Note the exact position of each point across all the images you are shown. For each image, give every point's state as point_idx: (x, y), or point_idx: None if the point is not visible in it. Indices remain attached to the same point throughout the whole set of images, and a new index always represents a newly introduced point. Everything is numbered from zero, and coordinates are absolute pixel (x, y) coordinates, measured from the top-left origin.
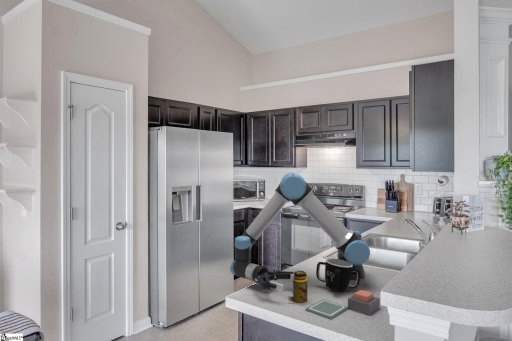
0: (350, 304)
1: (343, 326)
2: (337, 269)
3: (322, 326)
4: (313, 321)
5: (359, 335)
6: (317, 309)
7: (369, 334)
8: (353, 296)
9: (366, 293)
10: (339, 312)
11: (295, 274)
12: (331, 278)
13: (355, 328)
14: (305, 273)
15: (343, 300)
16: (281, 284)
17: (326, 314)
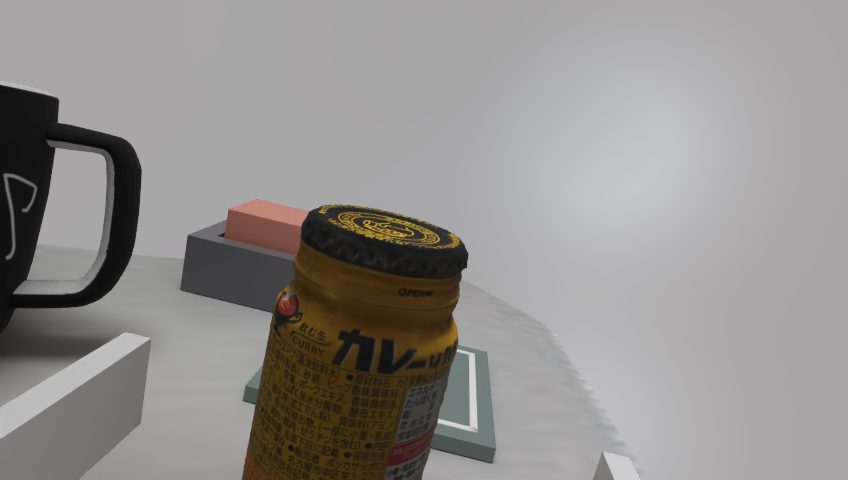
0: None
1: (503, 337)
2: (80, 127)
3: (578, 383)
4: (575, 412)
5: (520, 313)
6: (450, 396)
7: (489, 299)
8: (268, 251)
9: (275, 208)
10: None
11: (466, 258)
12: (10, 235)
13: (483, 316)
14: (380, 212)
15: (177, 327)
16: (619, 475)
17: (475, 365)
